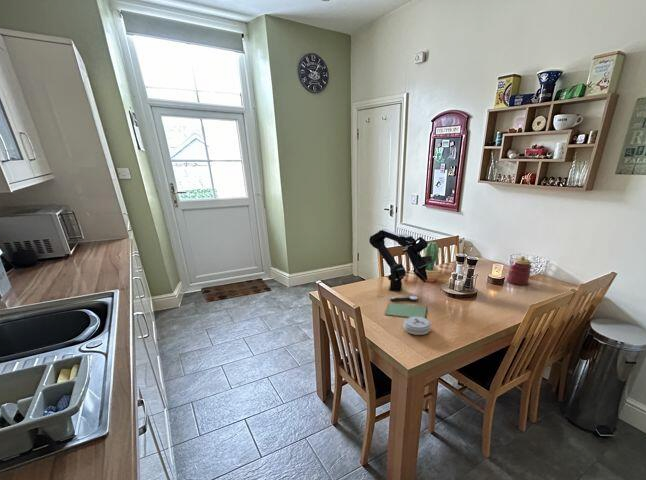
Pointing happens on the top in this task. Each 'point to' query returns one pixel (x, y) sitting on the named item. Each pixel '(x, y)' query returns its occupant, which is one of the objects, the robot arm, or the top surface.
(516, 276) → the kitchen canister
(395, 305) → the placemat
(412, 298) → the spoon
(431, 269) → the potted cactus
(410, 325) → the lid
